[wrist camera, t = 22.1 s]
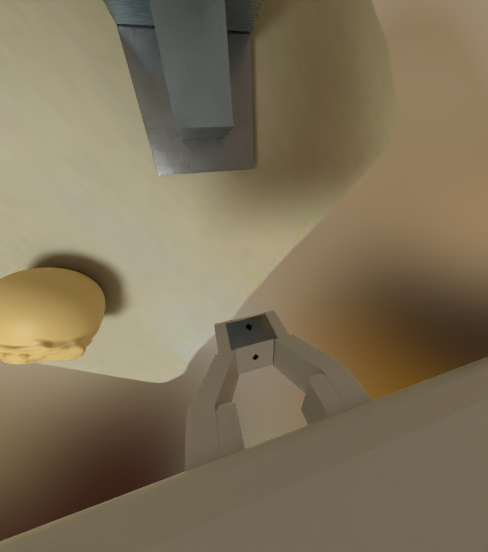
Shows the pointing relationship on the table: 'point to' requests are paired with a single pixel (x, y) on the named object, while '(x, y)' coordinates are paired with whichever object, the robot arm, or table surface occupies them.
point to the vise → (159, 117)
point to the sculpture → (48, 314)
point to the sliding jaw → (193, 56)
